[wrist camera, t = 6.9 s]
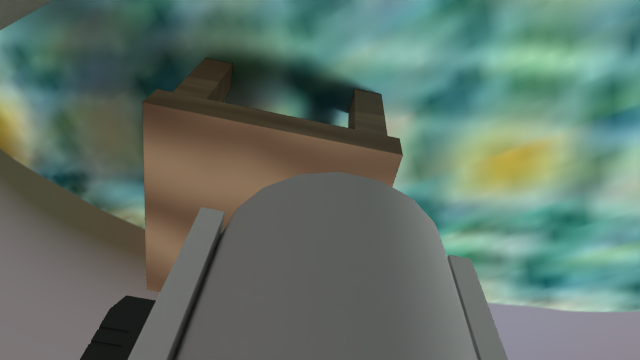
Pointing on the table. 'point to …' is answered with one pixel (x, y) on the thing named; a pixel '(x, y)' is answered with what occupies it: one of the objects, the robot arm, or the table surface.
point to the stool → (240, 155)
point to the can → (328, 279)
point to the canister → (17, 10)
